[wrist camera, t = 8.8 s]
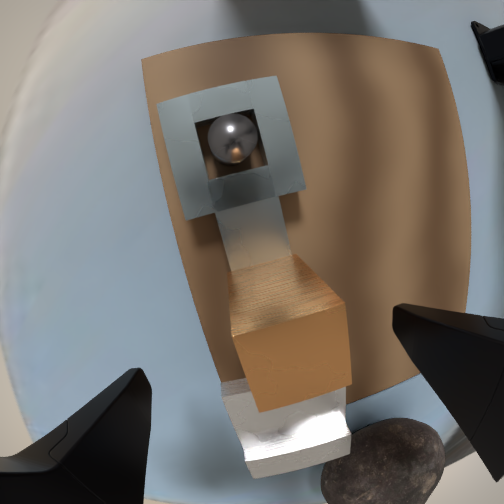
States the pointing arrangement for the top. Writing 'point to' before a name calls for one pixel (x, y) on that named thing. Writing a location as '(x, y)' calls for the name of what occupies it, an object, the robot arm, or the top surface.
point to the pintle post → (232, 139)
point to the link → (261, 247)
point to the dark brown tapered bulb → (386, 465)
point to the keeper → (287, 430)
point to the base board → (338, 184)
